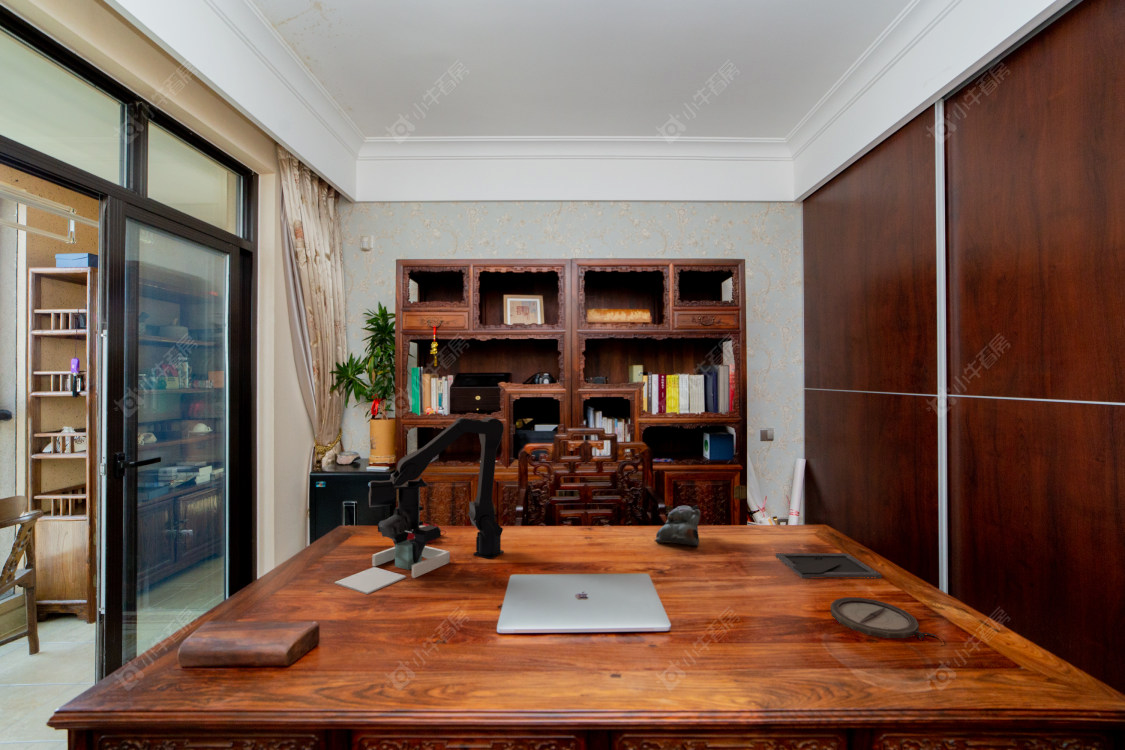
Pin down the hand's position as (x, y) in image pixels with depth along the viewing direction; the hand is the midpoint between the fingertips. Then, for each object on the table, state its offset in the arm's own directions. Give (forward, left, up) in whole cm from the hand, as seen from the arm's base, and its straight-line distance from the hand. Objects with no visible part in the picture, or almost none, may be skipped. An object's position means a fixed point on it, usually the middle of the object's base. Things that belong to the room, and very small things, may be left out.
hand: (408, 560), depth 143 cm
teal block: (0, 0, -1) cm, 1 cm away
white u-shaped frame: (0, 0, -1) cm, 1 cm away
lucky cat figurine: (-57, -57, -2) cm, 81 cm away
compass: (-110, -28, -2) cm, 114 cm away
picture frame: (-98, -59, -2) cm, 115 cm away
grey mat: (0, +13, -1) cm, 13 cm away
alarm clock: (+14, -18, -2) cm, 23 cm away
